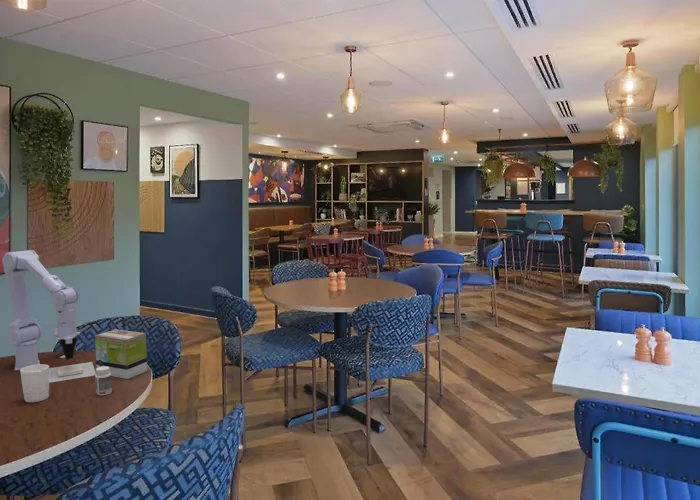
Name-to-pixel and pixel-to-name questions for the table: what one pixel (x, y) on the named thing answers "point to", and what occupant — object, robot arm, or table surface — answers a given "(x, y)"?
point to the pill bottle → (103, 381)
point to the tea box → (122, 352)
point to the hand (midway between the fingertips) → (69, 358)
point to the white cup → (35, 382)
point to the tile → (70, 370)
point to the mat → (87, 371)
